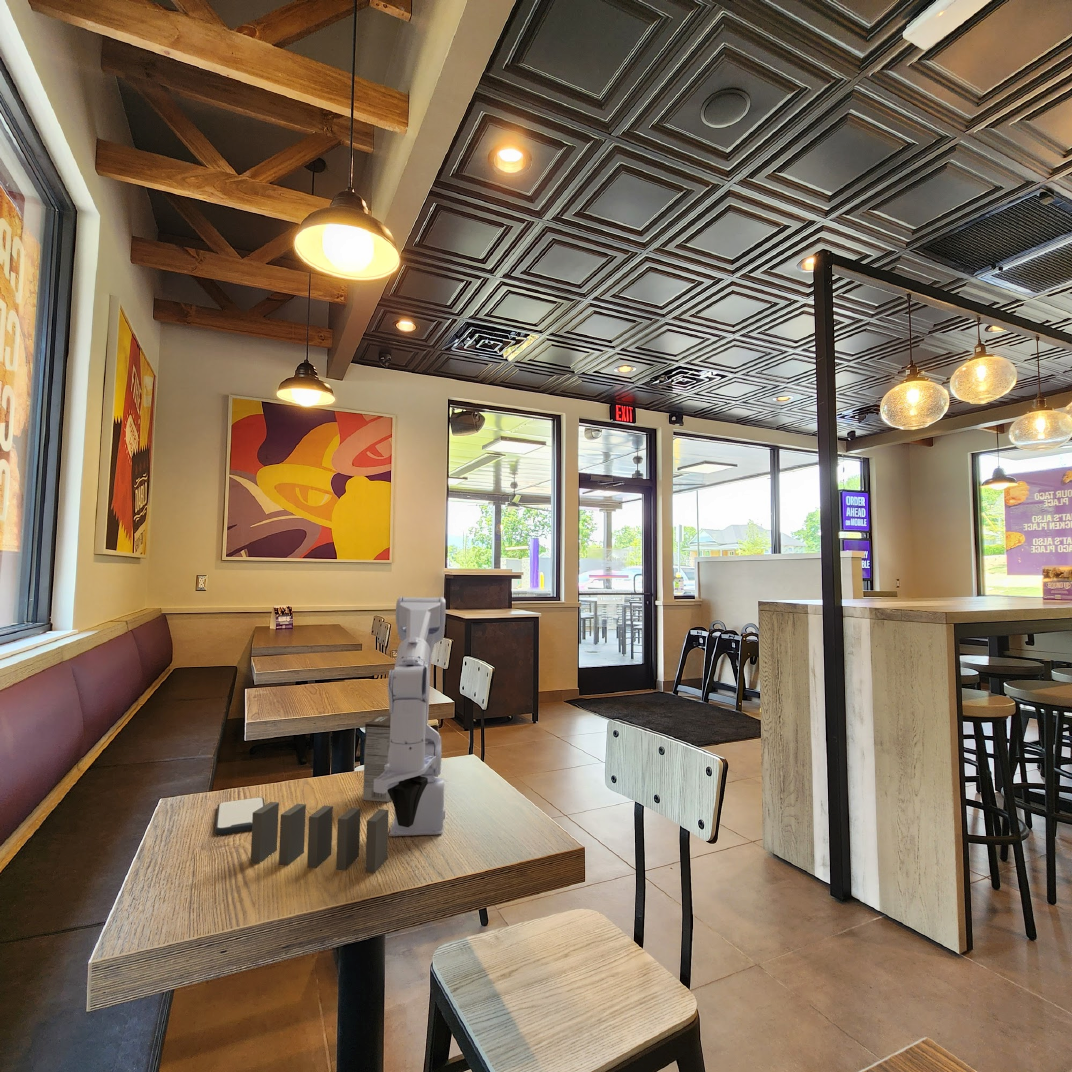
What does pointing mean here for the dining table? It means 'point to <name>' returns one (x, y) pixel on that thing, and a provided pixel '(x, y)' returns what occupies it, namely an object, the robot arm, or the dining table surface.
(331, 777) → the dining table surface
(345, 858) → the domino
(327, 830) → the domino
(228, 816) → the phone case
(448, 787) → the dining table surface
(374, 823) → the domino
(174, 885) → the dining table surface
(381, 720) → the coffee box
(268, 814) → the end domino
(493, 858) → the dining table surface
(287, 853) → the domino
